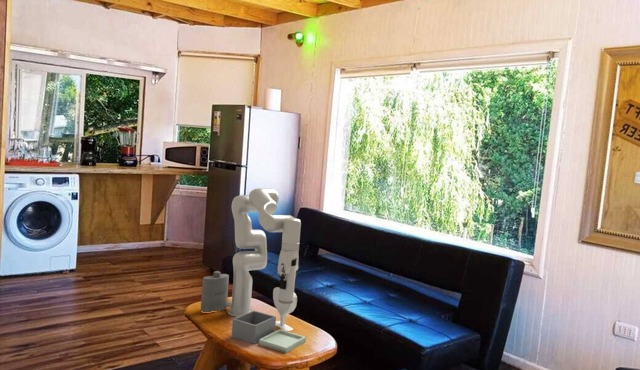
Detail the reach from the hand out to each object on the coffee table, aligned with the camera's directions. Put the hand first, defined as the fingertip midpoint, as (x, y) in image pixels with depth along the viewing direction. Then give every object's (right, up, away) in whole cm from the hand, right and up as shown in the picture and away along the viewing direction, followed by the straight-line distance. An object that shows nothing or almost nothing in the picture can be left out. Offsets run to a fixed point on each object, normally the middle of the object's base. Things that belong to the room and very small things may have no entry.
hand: (287, 286), depth 219 cm
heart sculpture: (-4, -24, +23) cm, 33 cm away
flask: (-39, -20, +37) cm, 57 cm away
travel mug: (-1, -7, +1) cm, 7 cm away
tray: (-2, -25, +2) cm, 25 cm away
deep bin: (-16, -23, +8) cm, 29 cm away
